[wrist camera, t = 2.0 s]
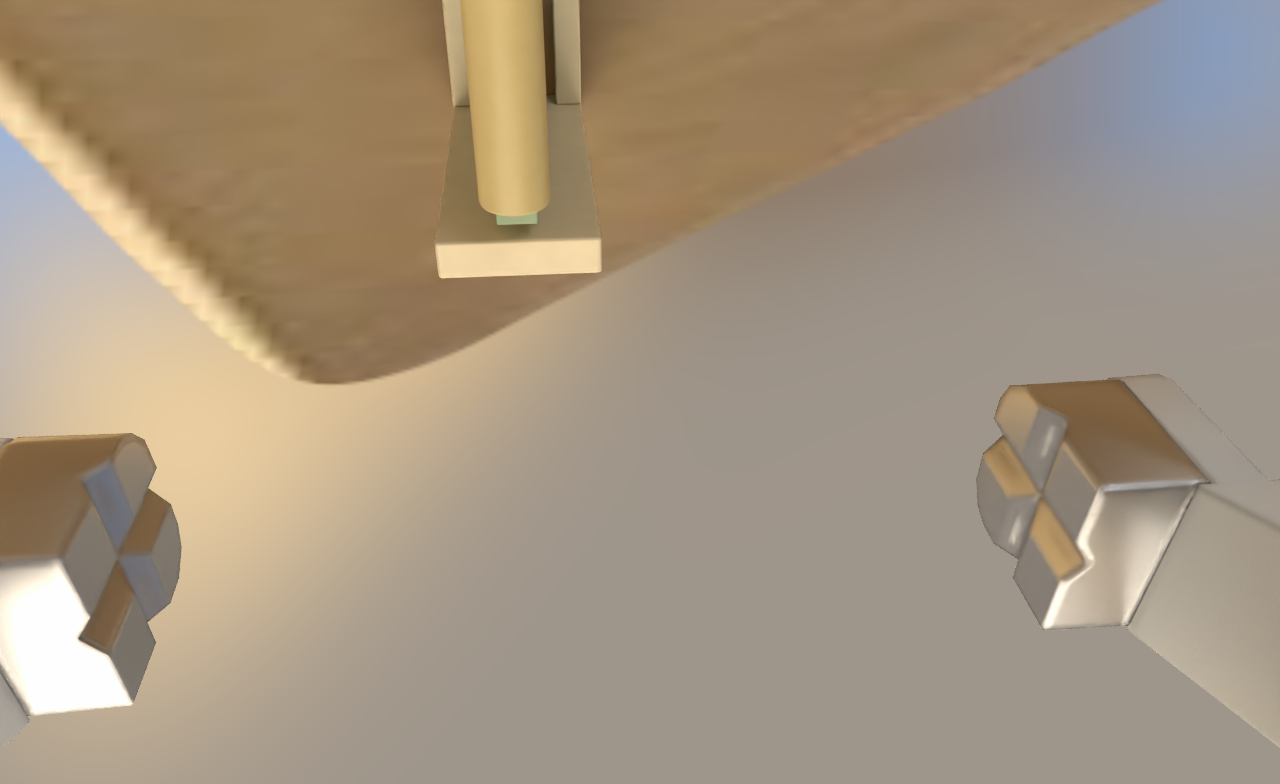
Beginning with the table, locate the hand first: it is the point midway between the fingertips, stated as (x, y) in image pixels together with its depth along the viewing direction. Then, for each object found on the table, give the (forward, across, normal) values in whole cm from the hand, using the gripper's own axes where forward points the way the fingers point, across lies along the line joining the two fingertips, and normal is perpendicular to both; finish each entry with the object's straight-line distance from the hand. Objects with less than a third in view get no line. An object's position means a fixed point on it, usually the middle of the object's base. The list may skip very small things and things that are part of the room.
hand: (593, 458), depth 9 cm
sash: (+23, +1, 0) cm, 23 cm away
